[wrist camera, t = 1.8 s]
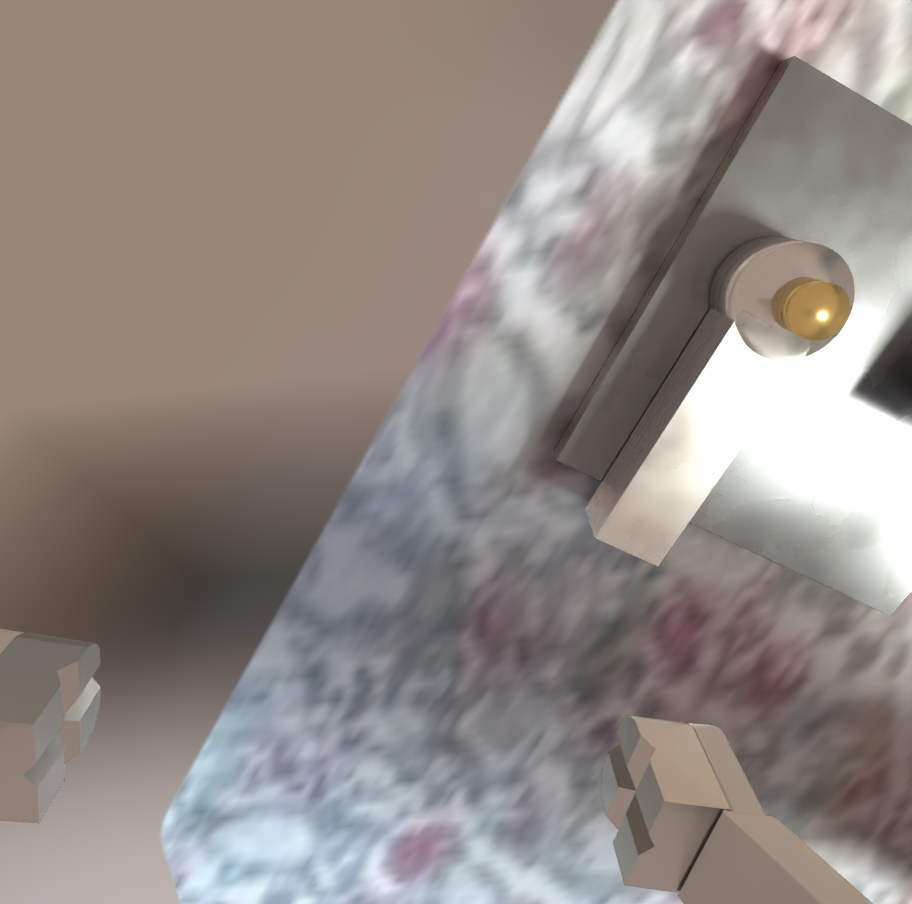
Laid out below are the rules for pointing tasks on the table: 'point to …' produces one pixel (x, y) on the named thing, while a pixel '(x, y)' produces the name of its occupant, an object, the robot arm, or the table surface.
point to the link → (711, 397)
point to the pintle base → (834, 392)
